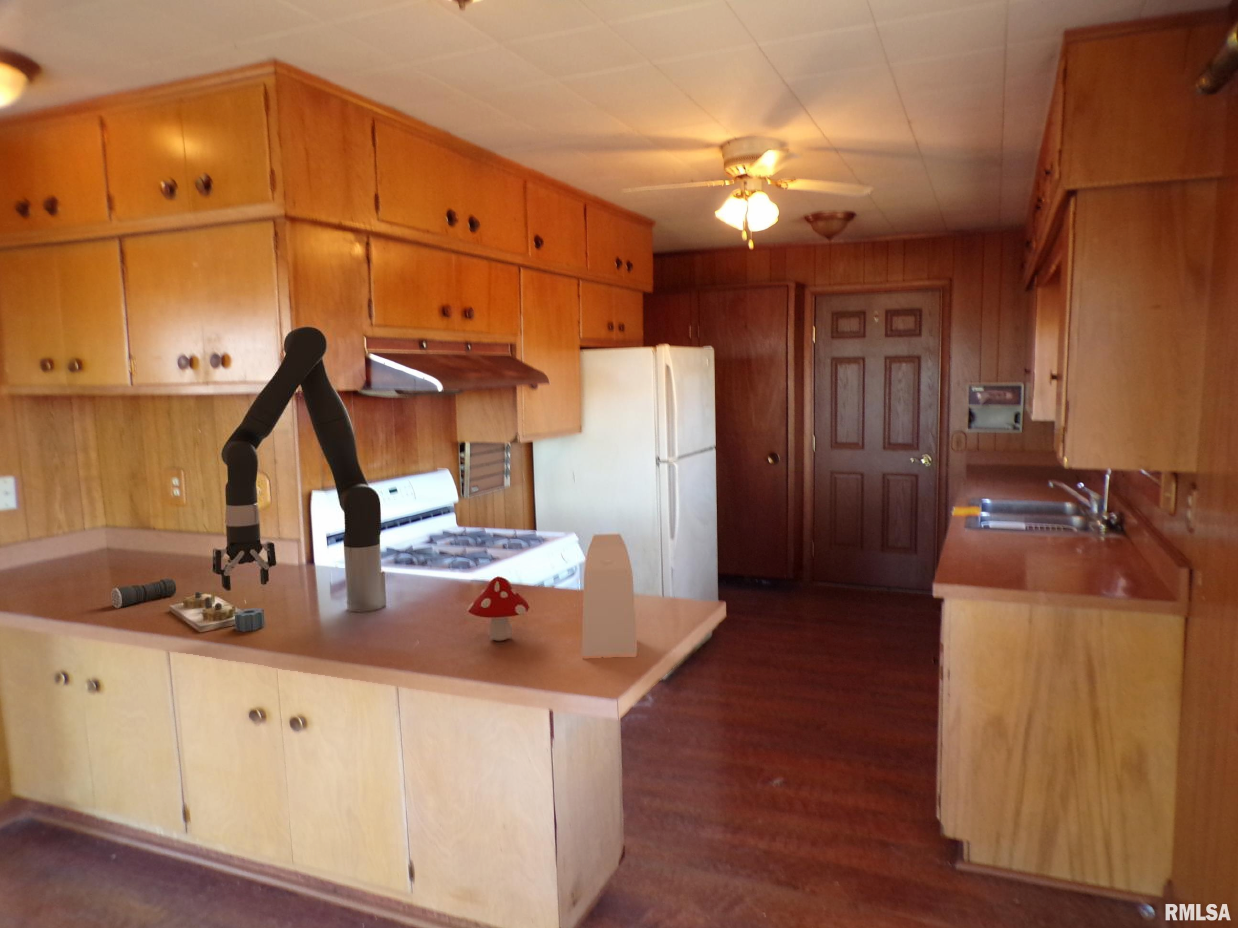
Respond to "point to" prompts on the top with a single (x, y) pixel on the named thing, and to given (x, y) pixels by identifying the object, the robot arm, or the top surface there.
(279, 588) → the top surface
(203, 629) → the gear board
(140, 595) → the flashlight
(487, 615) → the decorative mushroom
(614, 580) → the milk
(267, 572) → the robot arm
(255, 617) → the loose gear
